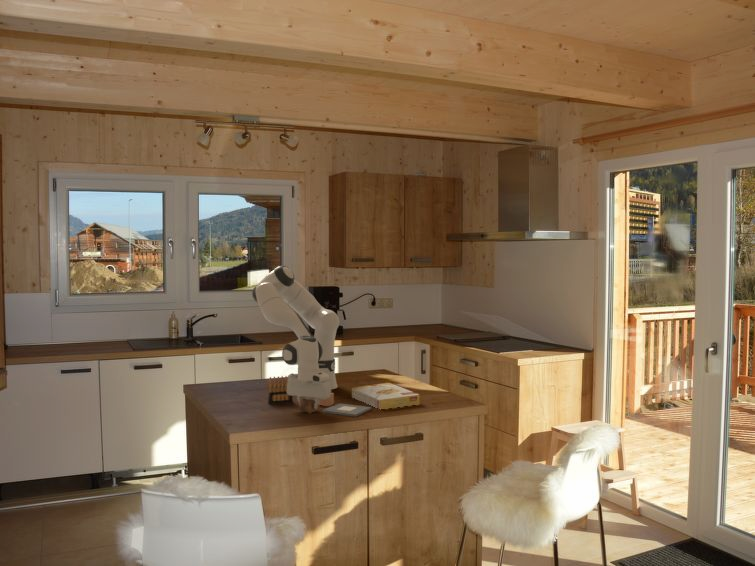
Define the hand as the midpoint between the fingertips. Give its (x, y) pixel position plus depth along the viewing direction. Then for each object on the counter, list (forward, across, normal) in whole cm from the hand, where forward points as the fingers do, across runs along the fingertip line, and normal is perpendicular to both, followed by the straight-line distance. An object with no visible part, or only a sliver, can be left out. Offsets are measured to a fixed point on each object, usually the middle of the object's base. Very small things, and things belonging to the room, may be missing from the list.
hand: (308, 407), depth 286 cm
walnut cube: (+2, 0, 0) cm, 2 cm away
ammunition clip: (+2, -20, +8) cm, 22 cm away
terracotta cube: (+2, 0, +14) cm, 14 cm away
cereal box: (+2, +20, +32) cm, 38 cm away
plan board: (+2, +14, +8) cm, 16 cm away
